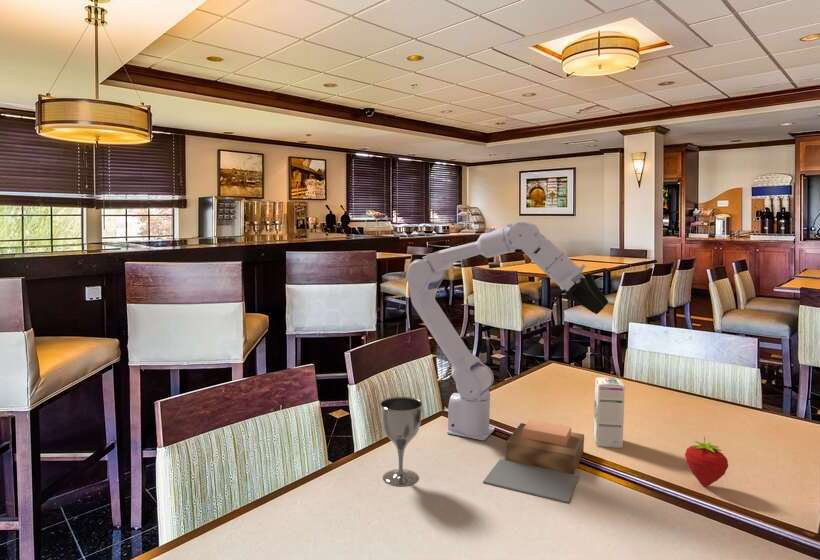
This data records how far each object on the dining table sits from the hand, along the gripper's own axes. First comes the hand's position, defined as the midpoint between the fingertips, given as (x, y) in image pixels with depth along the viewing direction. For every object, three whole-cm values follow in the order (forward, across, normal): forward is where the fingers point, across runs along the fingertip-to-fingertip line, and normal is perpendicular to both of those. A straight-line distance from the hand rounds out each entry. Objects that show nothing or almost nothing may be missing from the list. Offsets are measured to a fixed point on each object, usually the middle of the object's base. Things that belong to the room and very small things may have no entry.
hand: (603, 308), depth 110 cm
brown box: (+14, -5, +31) cm, 34 cm away
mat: (+14, -17, +31) cm, 38 cm away
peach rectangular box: (+11, -4, +28) cm, 30 cm away
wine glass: (-4, -28, +46) cm, 54 cm away
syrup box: (+22, +9, +24) cm, 34 cm away
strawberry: (+37, -4, +11) cm, 39 cm away
